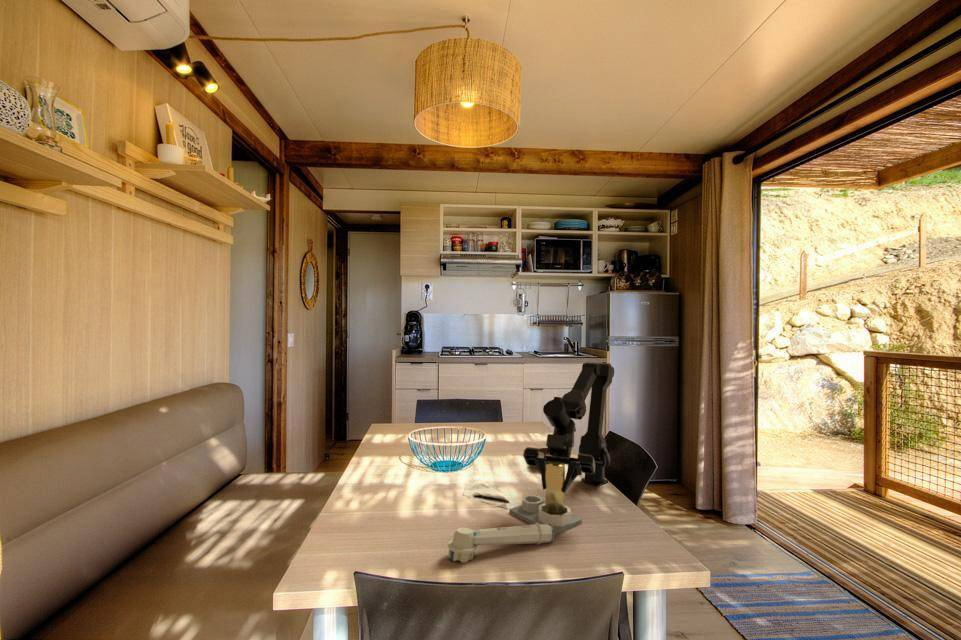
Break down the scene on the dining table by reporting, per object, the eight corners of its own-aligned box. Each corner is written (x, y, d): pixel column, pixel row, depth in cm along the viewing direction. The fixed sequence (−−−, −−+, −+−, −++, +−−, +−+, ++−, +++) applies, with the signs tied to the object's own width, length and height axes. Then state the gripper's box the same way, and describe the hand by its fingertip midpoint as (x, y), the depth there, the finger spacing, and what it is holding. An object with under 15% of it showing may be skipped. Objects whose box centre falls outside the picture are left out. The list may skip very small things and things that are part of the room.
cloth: (455, 481, 142) (455, 474, 142) (495, 478, 145) (495, 471, 145) (470, 515, 117) (470, 507, 117) (518, 511, 120) (518, 503, 120)
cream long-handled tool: (557, 528, 100) (455, 531, 91) (553, 558, 100) (451, 564, 91) (545, 519, 105) (448, 520, 96) (542, 547, 105) (443, 551, 96)
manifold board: (537, 502, 124) (537, 490, 124) (581, 523, 112) (581, 509, 112) (509, 512, 117) (509, 499, 117) (553, 535, 105) (553, 521, 105)
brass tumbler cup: (554, 507, 115) (554, 459, 115) (568, 514, 111) (568, 464, 111) (541, 512, 112) (541, 463, 112) (555, 520, 108) (555, 468, 108)
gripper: (525, 418, 119) (512, 470, 109) (593, 424, 112) (586, 481, 102) (533, 439, 126) (521, 490, 116) (597, 446, 119) (591, 501, 109)
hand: (553, 490), depth 111 cm, fingers closed on brass tumbler cup, 5 cm apart
